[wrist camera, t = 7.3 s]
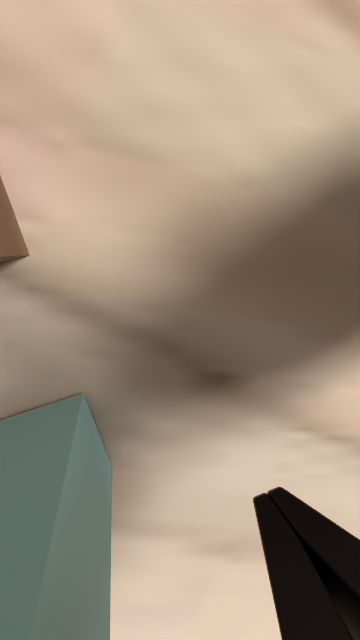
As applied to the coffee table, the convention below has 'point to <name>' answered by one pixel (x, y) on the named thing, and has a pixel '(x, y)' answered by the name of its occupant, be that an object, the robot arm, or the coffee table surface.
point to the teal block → (54, 525)
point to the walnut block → (9, 230)
